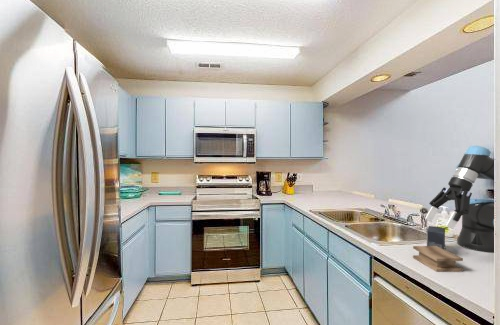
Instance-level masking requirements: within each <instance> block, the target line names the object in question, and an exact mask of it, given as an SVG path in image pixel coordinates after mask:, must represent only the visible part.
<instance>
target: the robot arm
mask: <svg viewBox="0 0 500 325" xmlns="http://www.w3.org/2000/svg"><path fill="white" fill-rule="evenodd" d="M491 152H492V151H490V149H489V148H487V147H485V146H480V145H471V146H469V147H468V148H467V149H466V151H465V152H464V153H463V156H462V158H461V160H460V162H459V163H458V164H457V165H456V167H455V171H454V173H453V175H452V177H451V178H450V179H449V181H448V186H449V187H448V188H447V187H443V188H442V189H441V190H440V192H438V193H437V195H436V196H435V197H434V198H433V199H432V200H431V201H429V205H430V206H431V207H430V208H429V209H428V210H429V211H428V212H427V214H426V216H425V218H424V219H425V220H426V221H429V222H433V220H434V219H435V217H436V214H438V212H439V209H440V207H441V206H443V205H444V204H446V203H448V201H454V208H455V210H454V211H453V212H452V213H451V215H450V217H449V219H448V221H447V223H446V224H445V226H446V227H447V228H450V229H451V230H454V229H455V227H456V225H457V224H458V222H460V219H461V229H460V232H459V235H458V236H457V238H456V244H457V245H459V246H461V247H464V248H466V249H469V250H474V251H479V252H486V253H495V252H494V200H495V199H494V198H471V197H472V194H473V193H472V192H470V190H472V188H473V186H474V185H473V184H474V183H475V182H476V180H477V179H481V180H491V181H493V182H494V160H495V159H493V158H492V157H490V156H491Z"/></svg>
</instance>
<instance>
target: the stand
mask: <svg viewBox="0 0 500 325" xmlns="http://www.w3.org/2000/svg"><path fill="white" fill-rule="evenodd" d="M412 248H413V250H415V251H417V252H418V255H415V254H414V255H412V258H413V259H414V260H416V261H418V262H419V263H421V264H423V265H425V266H426V267H428V268H429V269H431V270H433V271H434V272H436V273H444V272H446V273H448V272H454V273H455V272H457V273H458V272H460V273H462V272H463V270H464V268H462V267H460V266H458V265H456V262H464V258H463V257H461V256H459V255H456V254H454V253H452V252H450V251H449V250H446V249H445V250H444V249H442V248H440V247H437V246H427V245H413V247H412Z"/></svg>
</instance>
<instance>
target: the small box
mask: <svg viewBox="0 0 500 325" xmlns="http://www.w3.org/2000/svg"><path fill="white" fill-rule="evenodd" d="M426 246H437V247H440V248H442V249H444V250H446V227H441V226H433V225H428V227H427V232H426Z"/></svg>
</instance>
